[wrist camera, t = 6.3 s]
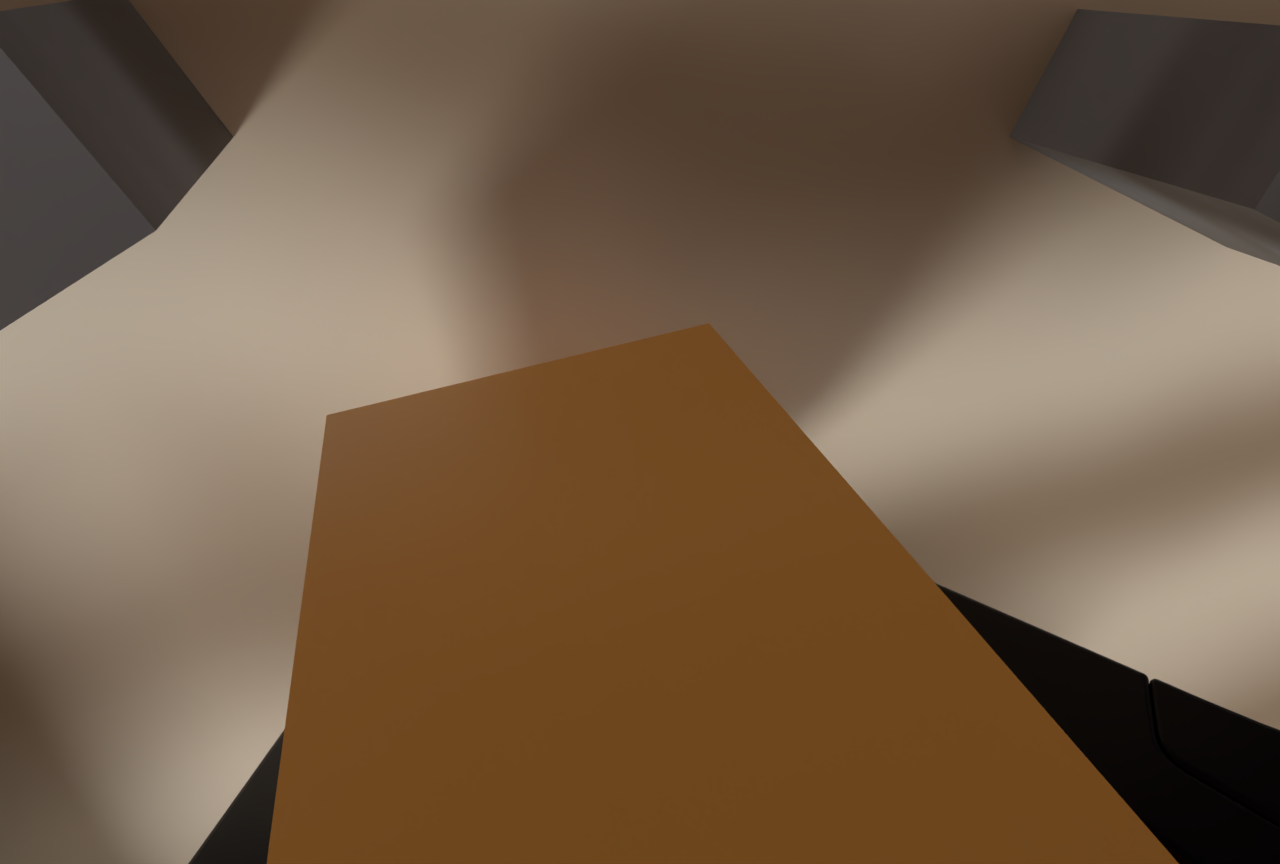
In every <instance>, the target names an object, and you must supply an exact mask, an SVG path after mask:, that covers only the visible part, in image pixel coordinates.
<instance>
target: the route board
mask: <svg viewBox="0 0 1280 864" xmlns="http://www.w3.org/2000/svg"><path fill="white" fill-rule="evenodd" d="M707 323H709V324H710V325H711V326H712V327H713V328H714V329H715V331H716V332H717V333H718V334H719V335H720V336H721V338H722V339H723V340H724V341H725V342H726V343H727V344H728V346H729V347H730V348H731V349H732V350H733V351H734V353H735V354H736V355H737V356H738V357H739V358H740V359H741V361H742V362H743V363H744V364H745V365H746V366H747V367H748V369H749V370H750V371H751V372H752V373H753V374H754V376H755V377H756V378H757V379H758V380H759V381H760V382H761V384H762V385H763V386H764V387H765V388H766V389H767V390H768V392H769V393H770V394H771V395H772V396H773V397H774V399H775V400H776V401H777V402H778V403H779V404H780V405H781V407H782V408H783V409H784V410H785V411H786V412H787V413H788V415H789V416H790V417H791V418H792V419H793V420H794V422H795V423H796V424H797V425H798V426H799V427H800V428H801V430H802V431H803V432H804V433H805V434H806V435H807V436H808V438H809V439H810V440H811V441H812V442H813V443H814V445H815V446H816V447H817V448H818V449H819V450H820V451H821V453H822V454H823V455H824V456H825V457H826V458H827V459H828V461H829V462H830V463H831V464H832V465H833V466H834V468H835V469H836V470H837V471H838V472H839V473H840V474H841V476H842V477H843V478H844V479H845V480H846V481H847V482H848V484H849V485H850V486H851V487H852V488H853V489H854V491H855V492H856V493H857V494H858V495H859V496H860V497H861V499H862V500H863V501H864V502H865V503H866V504H867V505H868V507H869V508H870V509H871V510H872V511H873V512H874V514H875V515H876V516H877V517H878V518H879V519H880V520H881V522H882V523H883V524H884V525H885V526H886V527H887V529H888V530H889V531H890V532H891V533H892V534H893V535H894V537H895V538H896V539H897V540H898V541H899V542H900V543H901V545H902V546H903V547H904V548H905V549H906V550H907V552H908V553H909V554H910V555H911V556H912V557H913V558H914V560H915V561H916V562H917V563H918V564H919V565H920V566H921V568H922V569H923V570H924V571H925V572H926V573H927V575H928V576H929V577H930V578H931V579H932V580H933V581H934V582H935V583H937V584H940V585H942V586H944V587H947V588H949V589H951V590H953V591H956V592H958V593H960V594H963V595H965V596H967V597H969V598H972V599H974V600H976V601H979V602H981V603H983V604H986V605H988V606H990V607H992V608H995V609H997V610H999V611H1002V612H1004V613H1006V614H1009V615H1011V616H1013V617H1015V618H1018V619H1020V620H1022V621H1025V622H1027V623H1029V624H1032V625H1034V626H1036V627H1038V628H1041V629H1043V630H1045V631H1048V632H1050V633H1052V634H1054V635H1057V636H1059V637H1061V638H1064V639H1066V640H1068V641H1071V642H1073V643H1075V644H1077V645H1080V646H1082V647H1084V648H1087V649H1089V650H1091V651H1093V652H1096V653H1098V654H1100V655H1103V656H1105V657H1107V658H1110V659H1112V660H1114V661H1116V662H1119V663H1121V664H1123V665H1126V666H1128V667H1130V668H1133V669H1135V670H1137V671H1139V672H1142V673H1144V674H1146V675H1147V677H1148V679H1149V682H1150V681H1151V680H1152V679H1159V680H1161V681H1163V682H1165V683H1168V684H1170V685H1172V686H1175V687H1177V688H1179V689H1181V690H1184V691H1186V692H1188V693H1191V694H1193V695H1195V696H1198V697H1200V698H1202V699H1205V700H1207V701H1210V702H1212V703H1215V704H1217V705H1219V706H1222V707H1224V708H1227V709H1229V710H1232V711H1234V712H1236V713H1239V714H1241V715H1244V716H1246V717H1249V718H1251V719H1253V720H1256V721H1258V722H1261V723H1263V724H1266V725H1268V726H1271V727H1274V728H1277V729H1279V730H1280V0H0V864H188V863H189V862H190V861H191V859H192V858H193V856H194V855H195V854H196V852H197V851H198V849H199V848H200V847H201V845H202V844H203V842H204V841H205V840H206V838H207V837H208V835H209V834H210V833H211V831H212V830H213V828H214V827H215V826H216V824H217V823H218V821H219V820H220V819H221V817H222V816H223V814H224V813H225V812H226V810H227V809H228V807H229V806H230V805H231V803H232V802H233V800H234V799H235V798H236V796H237V795H238V793H239V792H240V791H241V789H242V788H243V786H244V785H245V784H246V782H247V781H248V779H249V778H250V777H251V775H252V774H253V772H254V771H255V770H256V768H257V767H258V765H259V764H260V763H261V761H262V760H263V758H264V757H265V756H266V754H267V753H268V751H269V750H270V749H271V747H272V746H273V744H274V743H275V742H276V740H277V739H278V737H279V736H280V735H281V733H282V732H283V730H284V729H285V722H286V715H287V707H288V700H289V692H290V685H291V677H292V670H293V663H294V655H295V648H296V640H297V633H298V625H299V618H300V610H301V603H302V595H303V588H304V580H305V573H306V565H307V558H308V551H309V543H310V536H311V528H312V521H313V513H314V506H315V498H316V491H317V483H318V476H319V468H320V461H321V453H322V446H323V439H324V431H325V424H326V416H327V415H329V414H333V413H337V412H342V411H346V410H350V409H354V408H358V407H362V406H366V405H371V404H375V403H379V402H383V401H387V400H391V399H396V398H400V397H404V396H408V395H412V394H416V393H421V392H425V391H429V390H433V389H437V388H441V387H445V386H450V385H454V384H458V383H462V382H466V381H470V380H475V379H479V378H483V377H487V376H491V375H495V374H499V373H504V372H508V371H512V370H516V369H520V368H524V367H529V366H533V365H537V364H541V363H545V362H549V361H554V360H558V359H562V358H566V357H570V356H574V355H578V354H583V353H587V352H591V351H595V350H599V349H603V348H608V347H612V346H616V345H620V344H624V343H628V342H633V341H637V340H641V339H645V338H649V337H653V336H657V335H662V334H666V333H670V332H674V331H678V330H682V329H687V328H691V327H695V326H699V325H703V324H707Z"/></svg>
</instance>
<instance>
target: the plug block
mask: <svg viewBox="0 0 1280 864" xmlns="http://www.w3.org/2000/svg"><path fill="white" fill-rule="evenodd" d="M267 864H1179V863H1178V862H1177V861H1176V860H1175V859H1174V857H1173V856H1172V855H1171V854H1170V853H1169V852H1168V851H1167V849H1166V848H1165V847H1164V846H1163V845H1162V844H1161V843H1160V841H1159V840H1158V839H1157V838H1156V837H1155V836H1154V834H1153V833H1152V832H1151V831H1150V830H1149V829H1148V828H1147V826H1146V825H1145V824H1144V823H1143V822H1142V821H1141V820H1140V818H1139V817H1138V816H1137V815H1136V814H1135V813H1134V811H1133V810H1132V809H1131V808H1130V807H1129V806H1128V805H1127V803H1126V802H1125V801H1124V800H1123V799H1122V798H1121V797H1120V795H1119V794H1118V793H1117V792H1116V791H1115V790H1114V788H1113V787H1112V786H1111V785H1110V784H1109V783H1108V782H1107V780H1106V779H1105V778H1104V777H1103V776H1102V775H1101V774H1100V772H1099V771H1098V770H1097V769H1096V768H1095V767H1094V765H1093V764H1092V763H1091V762H1090V761H1089V760H1088V759H1087V757H1086V756H1085V755H1084V754H1083V753H1082V752H1081V751H1080V749H1079V748H1078V747H1077V746H1076V745H1075V744H1074V742H1073V741H1072V740H1071V739H1070V738H1069V737H1068V736H1067V734H1066V733H1065V732H1064V731H1063V730H1062V729H1061V728H1060V726H1059V725H1058V724H1057V723H1056V722H1055V721H1054V719H1053V718H1052V717H1051V716H1050V715H1049V714H1048V713H1047V711H1046V710H1045V709H1044V708H1043V707H1042V706H1041V704H1040V703H1039V702H1038V701H1037V700H1036V699H1035V698H1034V696H1033V695H1032V694H1031V693H1030V692H1029V691H1028V690H1027V688H1026V687H1025V686H1024V685H1023V684H1022V683H1021V681H1020V680H1019V679H1018V678H1017V677H1016V676H1015V675H1014V673H1013V672H1012V671H1011V670H1010V669H1009V668H1008V667H1007V665H1006V664H1005V663H1004V662H1003V661H1002V660H1001V658H1000V657H999V656H998V655H997V654H996V653H995V652H994V650H993V649H992V648H991V647H990V646H989V645H988V644H987V642H986V641H985V640H984V639H983V638H982V637H981V635H980V634H979V633H978V632H977V631H976V630H975V629H974V627H973V626H972V625H971V624H970V623H969V622H968V621H967V619H966V618H965V617H964V616H963V615H962V614H961V612H960V611H959V610H958V609H957V608H956V607H955V606H954V604H953V603H952V602H951V601H950V600H949V599H948V598H947V596H946V595H945V594H944V593H943V592H942V591H941V589H940V588H939V587H938V586H937V585H936V584H935V583H934V581H933V580H932V579H931V578H930V577H929V576H928V575H927V573H926V572H925V571H924V570H923V569H922V568H921V566H920V565H919V564H918V563H917V562H916V561H915V560H914V558H913V557H912V556H911V555H910V554H909V553H908V552H907V550H906V549H905V548H904V547H903V546H902V545H901V543H900V542H899V541H898V540H897V539H896V538H895V537H894V535H893V534H892V533H891V532H890V531H889V530H888V529H887V527H886V526H885V525H884V524H883V523H882V522H881V520H880V519H879V518H878V517H877V516H876V515H875V514H874V512H873V511H872V510H871V509H870V508H869V507H868V505H867V504H866V503H865V502H864V501H863V500H862V499H861V497H860V496H859V495H858V494H857V493H856V492H855V491H854V489H853V488H852V487H851V486H850V485H849V484H848V482H847V481H846V480H845V479H844V478H843V477H842V476H841V474H840V473H839V472H838V471H837V470H836V469H835V468H834V466H833V465H832V464H831V463H830V462H829V461H828V459H827V458H826V457H825V456H824V455H823V454H822V453H821V451H820V450H819V449H818V448H817V447H816V446H815V445H814V443H813V442H812V441H811V440H810V439H809V438H808V436H807V435H806V434H805V433H804V432H803V431H802V430H801V428H800V427H799V426H798V425H797V424H796V423H795V422H794V420H793V419H792V418H791V417H790V416H789V415H788V413H787V412H786V411H785V410H784V409H783V408H782V407H781V405H780V404H779V403H778V402H777V401H776V400H775V399H774V397H773V396H772V395H771V394H770V393H769V392H768V390H767V389H766V388H765V387H764V386H763V385H762V384H761V382H760V381H759V380H758V379H757V378H756V377H755V376H754V374H753V373H752V372H751V371H750V370H749V369H748V367H747V366H746V365H745V364H744V363H743V362H742V361H741V359H740V358H739V357H738V356H737V355H736V354H735V353H734V351H733V350H732V349H731V348H730V347H729V346H728V344H727V343H726V342H725V341H724V340H723V339H722V338H721V336H720V335H719V334H718V333H717V332H716V331H715V329H714V328H713V327H712V326H711V325H710V324H709V323H707V324H703V325H699V326H695V327H691V328H687V329H682V330H678V331H674V332H670V333H666V334H662V335H657V336H653V337H649V338H645V339H641V340H637V341H633V342H628V343H624V344H620V345H616V346H612V347H608V348H603V349H599V350H595V351H591V352H587V353H583V354H578V355H574V356H570V357H566V358H562V359H558V360H554V361H549V362H545V363H541V364H537V365H533V366H529V367H524V368H520V369H516V370H512V371H508V372H504V373H499V374H495V375H491V376H487V377H483V378H479V379H475V380H470V381H466V382H462V383H458V384H454V385H450V386H445V387H441V388H437V389H433V390H429V391H425V392H421V393H416V394H412V395H408V396H404V397H400V398H396V399H391V400H387V401H383V402H379V403H375V404H371V405H366V406H362V407H358V408H354V409H350V410H346V411H342V412H337V413H333V414H329V415H327V416H326V424H325V431H324V439H323V446H322V453H321V461H320V468H319V476H318V483H317V491H316V498H315V506H314V513H313V521H312V528H311V536H310V543H309V551H308V558H307V565H306V573H305V580H304V588H303V595H302V603H301V610H300V618H299V625H298V633H297V640H296V648H295V655H294V663H293V670H292V677H291V685H290V692H289V700H288V707H287V715H286V722H285V730H284V737H283V745H282V752H281V760H280V767H279V775H278V782H277V789H276V797H275V804H274V812H273V819H272V827H271V834H270V842H269V849H268V857H267Z"/></svg>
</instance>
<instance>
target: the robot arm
mask: <svg viewBox="0 0 1280 864" xmlns="http://www.w3.org/2000/svg"><path fill="white" fill-rule="evenodd" d="M934 583H935V582H934ZM935 584H936V585H937V586H938V587H939V588H940V589H941V591H942V592H943V593H944V594H945V595H946V596H947V598H948V599H949V600H950V601H951V602H952V603H953V604H954V606H955V607H956V608H957V609H958V610H959V611H960V612H961V614H962V615H963V616H964V617H965V618H966V619H967V621H968V622H969V623H970V624H971V625H972V626H973V627H974V629H975V630H976V631H977V632H978V633H979V634H980V635H981V637H982V638H983V639H984V640H985V641H986V642H987V644H988V645H989V646H990V647H991V648H992V649H993V650H994V652H995V653H996V654H997V655H998V656H999V657H1000V658H1001V660H1002V661H1003V662H1004V663H1005V664H1006V665H1007V667H1008V668H1009V669H1010V670H1011V671H1012V672H1013V673H1014V675H1015V676H1016V677H1017V678H1018V679H1019V680H1020V681H1021V683H1022V684H1023V685H1024V686H1025V687H1026V688H1027V690H1028V691H1029V692H1030V693H1031V694H1032V695H1033V696H1034V698H1035V699H1036V700H1037V701H1038V702H1039V703H1040V704H1041V706H1042V707H1043V708H1044V709H1045V710H1046V711H1047V713H1048V714H1049V715H1050V716H1051V717H1052V718H1053V719H1054V721H1055V722H1056V723H1057V724H1058V725H1059V726H1060V728H1061V729H1062V730H1063V731H1064V732H1065V733H1066V734H1067V736H1068V737H1069V738H1070V739H1071V740H1072V741H1073V742H1074V744H1075V745H1076V746H1077V747H1078V748H1079V749H1080V751H1081V752H1082V753H1083V754H1084V755H1085V756H1086V757H1087V759H1088V760H1089V761H1090V762H1091V763H1092V764H1093V765H1094V767H1095V768H1096V769H1097V770H1098V771H1099V772H1100V774H1101V775H1102V776H1103V777H1104V778H1105V779H1106V780H1107V782H1108V783H1109V784H1110V785H1111V786H1112V787H1113V788H1114V790H1115V791H1116V792H1117V793H1118V794H1119V795H1120V797H1121V798H1122V799H1123V800H1124V801H1125V802H1126V803H1127V805H1128V806H1129V807H1130V808H1131V809H1132V810H1133V811H1134V813H1135V814H1136V815H1137V816H1138V817H1139V818H1140V820H1141V821H1142V822H1143V823H1144V824H1145V825H1146V826H1147V828H1148V829H1149V830H1150V831H1151V832H1152V833H1153V834H1154V836H1155V837H1156V838H1157V839H1158V840H1159V841H1160V843H1161V844H1162V845H1163V846H1164V847H1165V848H1166V849H1167V851H1168V852H1169V853H1170V854H1171V855H1172V856H1173V857H1174V859H1175V860H1176V861H1177V862H1178V863H1179V864H1280V730H1279V729H1277V728H1274V727H1271V726H1268V725H1266V724H1263V723H1261V722H1258V721H1256V720H1253V719H1251V718H1249V717H1246V716H1244V715H1241V714H1239V713H1236V712H1234V711H1232V710H1229V709H1227V708H1224V707H1222V706H1219V705H1217V704H1215V703H1212V702H1210V701H1207V700H1205V699H1202V698H1200V697H1198V696H1195V695H1193V694H1191V693H1188V692H1186V691H1184V690H1181V689H1179V688H1177V687H1175V686H1172V685H1170V684H1168V683H1165V682H1163V681H1161V680H1159V679H1152V680H1151V681H1150V682H1149V679H1148V677H1147V675H1146V674H1144V673H1142V672H1139V671H1137V670H1135V669H1133V668H1130V667H1128V666H1126V665H1123V664H1121V663H1119V662H1116V661H1114V660H1112V659H1110V658H1107V657H1105V656H1103V655H1100V654H1098V653H1096V652H1093V651H1091V650H1089V649H1087V648H1084V647H1082V646H1080V645H1077V644H1075V643H1073V642H1071V641H1068V640H1066V639H1064V638H1061V637H1059V636H1057V635H1054V634H1052V633H1050V632H1048V631H1045V630H1043V629H1041V628H1038V627H1036V626H1034V625H1032V624H1029V623H1027V622H1025V621H1022V620H1020V619H1018V618H1015V617H1013V616H1011V615H1009V614H1006V613H1004V612H1002V611H999V610H997V609H995V608H992V607H990V606H988V605H986V604H983V603H981V602H979V601H976V600H974V599H972V598H969V597H967V596H965V595H963V594H960V593H958V592H956V591H953V590H951V589H949V588H947V587H944V586H942V585H940V584H937V583H935ZM284 730H285V729H284ZM284 730H283V732H282V733H281V735H280V736H279V737H278V739H277V740H276V742H275V743H274V744H273V746H272V747H271V749H270V750H269V751H268V753H267V754H266V756H265V757H264V758H263V760H262V761H261V763H260V764H259V765H258V767H257V768H256V770H255V771H254V772H253V774H252V775H251V777H250V778H249V779H248V781H247V782H246V784H245V785H244V786H243V788H242V789H241V791H240V792H239V793H238V795H237V796H236V798H235V799H234V800H233V802H232V803H231V805H230V806H229V807H228V809H227V810H226V812H225V813H224V814H223V816H222V817H221V819H220V820H219V821H218V823H217V824H216V826H215V827H214V828H213V830H212V831H211V833H210V834H209V835H208V837H207V838H206V840H205V841H204V842H203V844H202V845H201V847H200V848H199V849H198V851H197V852H196V854H195V855H194V856H193V858H192V859H191V861H190V862H189V863H188V864H267V857H268V849H269V842H270V834H271V827H272V819H273V812H274V804H275V797H276V789H277V782H278V775H279V767H280V760H281V752H282V745H283V737H284Z"/></svg>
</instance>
